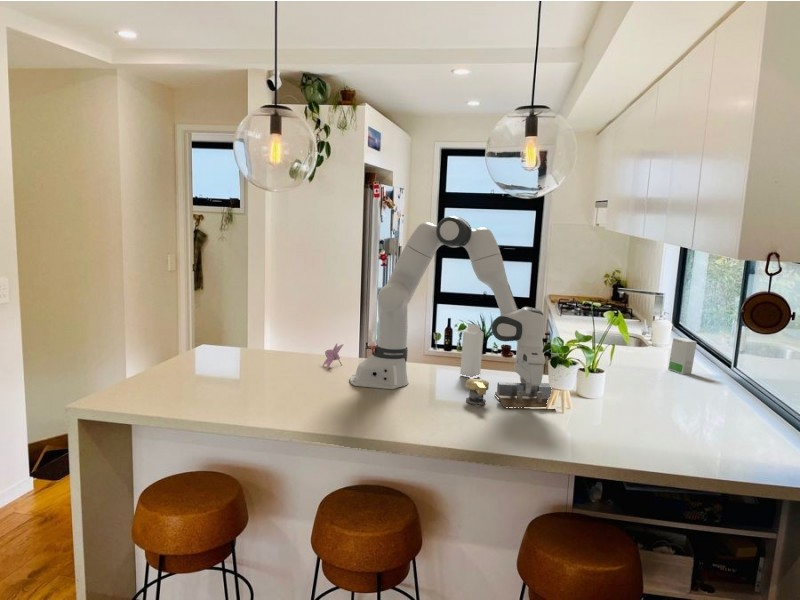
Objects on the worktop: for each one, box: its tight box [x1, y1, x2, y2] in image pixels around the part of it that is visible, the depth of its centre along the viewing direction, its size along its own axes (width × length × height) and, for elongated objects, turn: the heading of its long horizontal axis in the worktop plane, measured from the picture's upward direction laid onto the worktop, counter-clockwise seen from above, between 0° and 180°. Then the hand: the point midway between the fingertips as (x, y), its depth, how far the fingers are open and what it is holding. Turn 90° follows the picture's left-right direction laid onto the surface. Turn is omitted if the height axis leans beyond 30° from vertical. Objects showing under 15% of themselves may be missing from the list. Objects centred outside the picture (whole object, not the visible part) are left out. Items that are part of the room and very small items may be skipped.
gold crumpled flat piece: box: [465, 378, 490, 396], centre depth 198 cm, size 12×8×2 cm, turn 5°
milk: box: [459, 323, 484, 377], centre depth 233 cm, size 6×6×22 cm
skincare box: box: [667, 337, 698, 375], centre depth 265 cm, size 8×7×16 cm
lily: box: [322, 343, 344, 370], centre depth 237 cm, size 12×12×10 cm
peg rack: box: [494, 391, 549, 409], centre depth 204 cm, size 18×14×6 cm
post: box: [465, 389, 487, 406], centre depth 201 cm, size 7×7×5 cm
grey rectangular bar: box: [496, 381, 552, 399], centre depth 203 cm, size 19×5×4 cm, turn 95°
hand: (525, 390), depth 203 cm, fingers closed on grey rectangular bar, 3 cm apart
